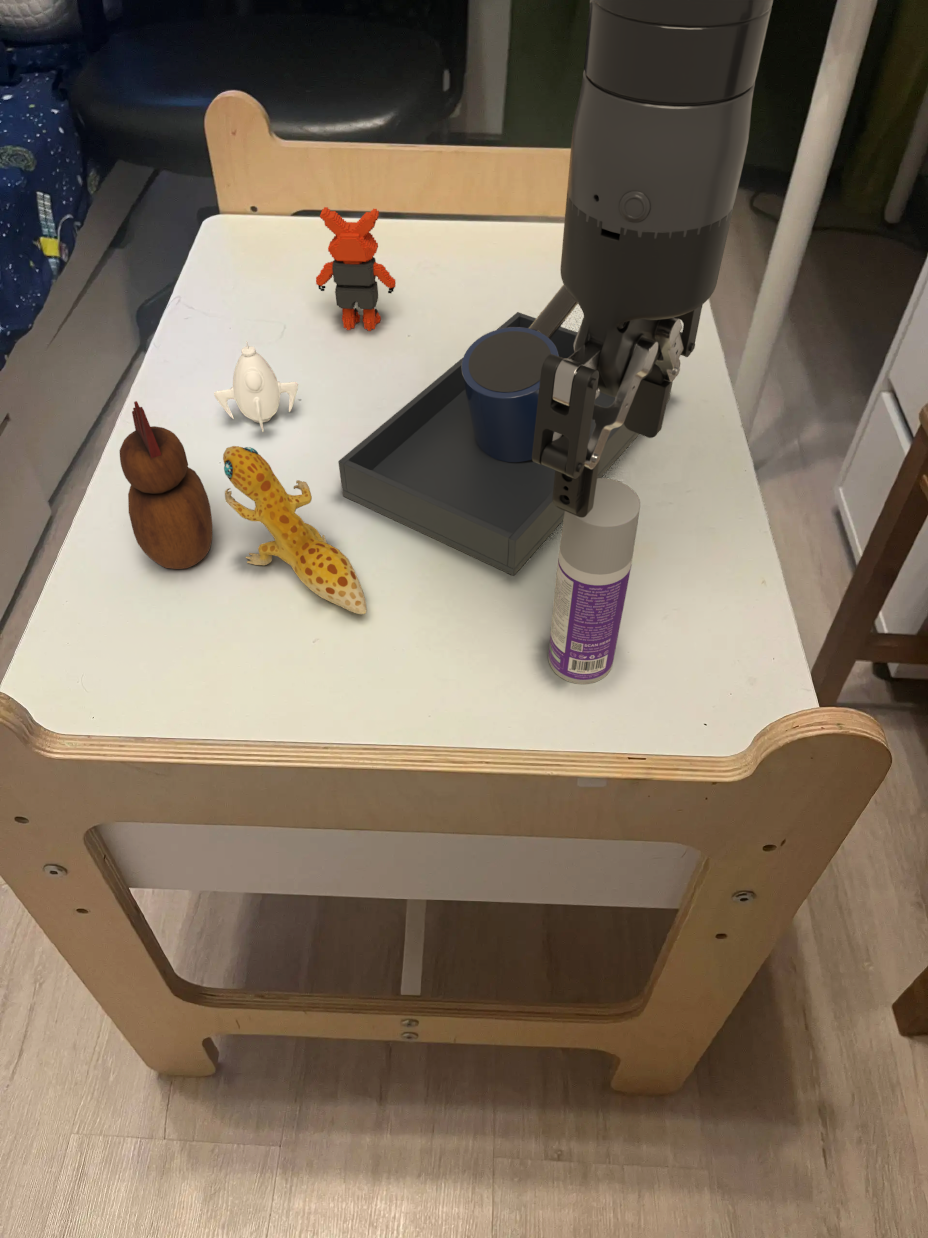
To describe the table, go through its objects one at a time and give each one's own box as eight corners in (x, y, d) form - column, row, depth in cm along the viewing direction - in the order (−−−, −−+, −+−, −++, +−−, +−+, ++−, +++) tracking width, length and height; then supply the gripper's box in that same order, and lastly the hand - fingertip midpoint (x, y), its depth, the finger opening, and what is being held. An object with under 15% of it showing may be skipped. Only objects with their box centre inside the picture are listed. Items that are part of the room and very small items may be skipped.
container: (623, 650, 66) (655, 493, 55) (594, 694, 64) (621, 538, 53) (567, 625, 68) (586, 467, 57) (536, 666, 66) (550, 509, 54)
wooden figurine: (219, 577, 72) (173, 418, 60) (144, 585, 71) (83, 427, 60) (220, 519, 76) (177, 362, 65) (149, 527, 75) (94, 369, 64)
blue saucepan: (542, 333, 87) (536, 263, 80) (617, 359, 84) (618, 288, 77) (456, 443, 81) (442, 377, 75) (533, 475, 79) (526, 410, 72)
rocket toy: (264, 442, 83) (248, 366, 77) (220, 422, 85) (201, 347, 79) (303, 411, 86) (290, 336, 80) (259, 393, 88) (244, 318, 82)
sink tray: (669, 400, 87) (676, 365, 84) (513, 576, 72) (515, 541, 69) (516, 345, 93) (517, 311, 91) (342, 496, 78) (337, 461, 75)
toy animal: (402, 306, 99) (395, 193, 90) (396, 333, 95) (388, 219, 86) (329, 303, 99) (315, 191, 90) (320, 330, 95) (305, 216, 86)
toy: (268, 473, 75) (257, 410, 66) (401, 600, 73) (409, 553, 64) (207, 524, 73) (187, 467, 64) (342, 655, 71) (341, 616, 62)
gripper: (647, 116, 46) (608, 388, 58) (495, 224, 38) (487, 512, 51) (789, 151, 44) (717, 429, 56) (656, 275, 36) (606, 566, 48)
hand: (607, 468), depth 53 cm, fingers open, 8 cm apart
